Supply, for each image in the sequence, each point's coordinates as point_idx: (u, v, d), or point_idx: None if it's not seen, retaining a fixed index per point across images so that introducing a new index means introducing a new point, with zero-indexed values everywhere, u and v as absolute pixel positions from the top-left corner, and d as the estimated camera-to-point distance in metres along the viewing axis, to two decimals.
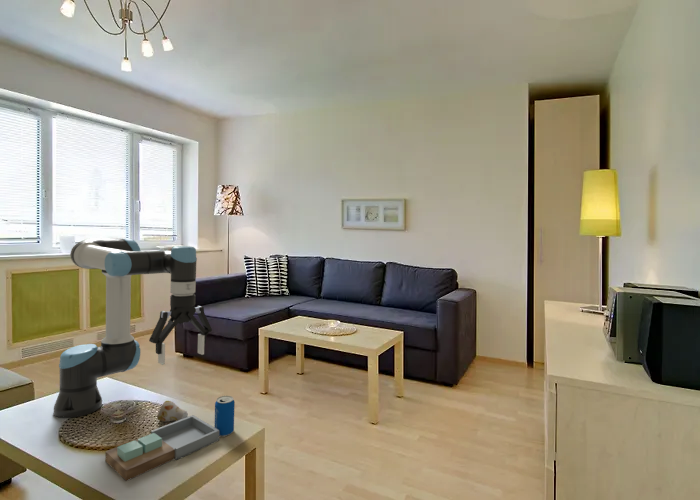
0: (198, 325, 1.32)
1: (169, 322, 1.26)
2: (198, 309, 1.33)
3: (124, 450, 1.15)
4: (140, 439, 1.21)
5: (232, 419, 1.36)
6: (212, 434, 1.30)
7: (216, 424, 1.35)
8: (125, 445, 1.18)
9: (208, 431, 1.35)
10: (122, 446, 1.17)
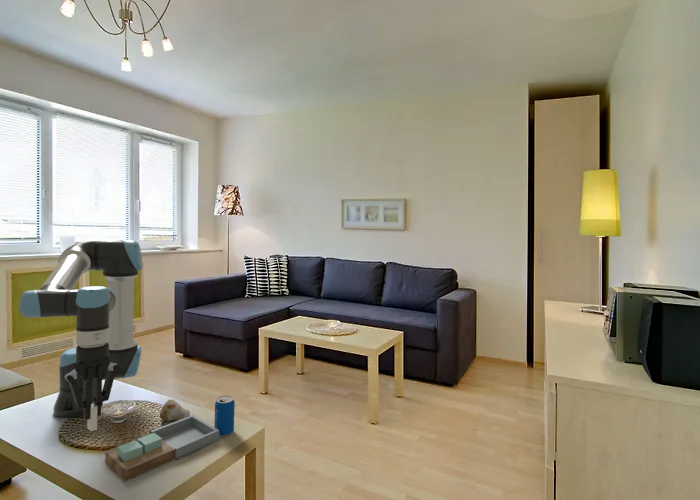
0: (99, 388, 1.08)
1: (83, 381, 1.07)
2: (112, 366, 1.11)
3: (124, 450, 1.15)
4: (140, 439, 1.21)
5: (232, 419, 1.36)
6: (212, 434, 1.30)
7: (216, 424, 1.35)
8: (125, 445, 1.18)
9: (208, 431, 1.35)
10: (122, 446, 1.17)
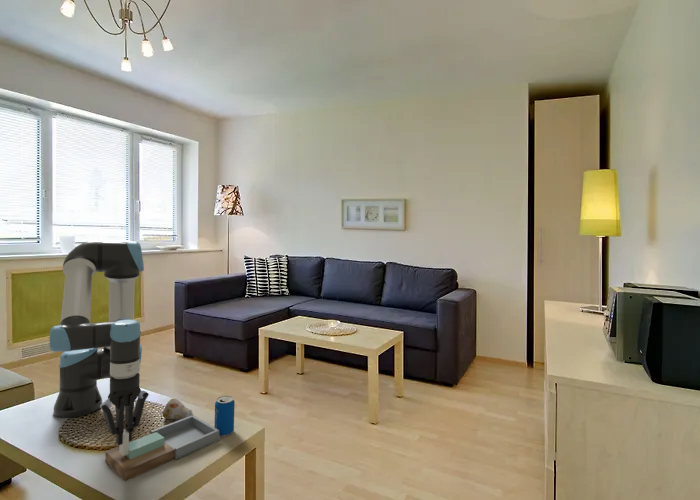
0: (130, 415, 1.16)
1: (116, 409, 1.14)
2: (142, 394, 1.19)
3: (129, 448, 1.16)
4: (143, 438, 1.22)
5: (232, 419, 1.36)
6: (212, 434, 1.30)
7: (216, 424, 1.35)
8: (130, 443, 1.19)
9: (208, 431, 1.35)
10: None
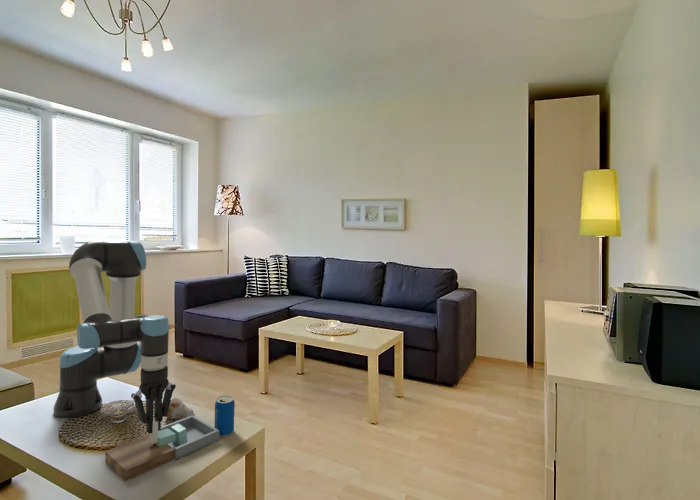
0: (159, 405, 1.22)
1: (146, 399, 1.21)
2: (170, 385, 1.25)
3: (159, 436, 1.23)
4: None
5: (232, 419, 1.36)
6: (212, 434, 1.30)
7: (216, 424, 1.35)
8: (159, 432, 1.26)
9: (208, 431, 1.35)
10: None
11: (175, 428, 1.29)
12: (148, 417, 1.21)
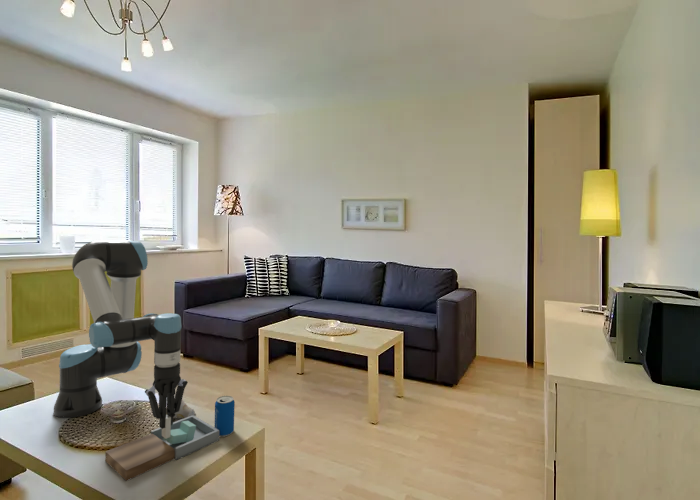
0: (172, 401, 1.26)
1: (159, 395, 1.24)
2: (182, 382, 1.29)
3: (172, 434, 1.26)
4: None
5: (232, 419, 1.36)
6: (212, 434, 1.30)
7: (216, 424, 1.35)
8: (172, 430, 1.29)
9: (208, 431, 1.35)
10: None
11: (185, 423, 1.31)
12: (161, 412, 1.24)
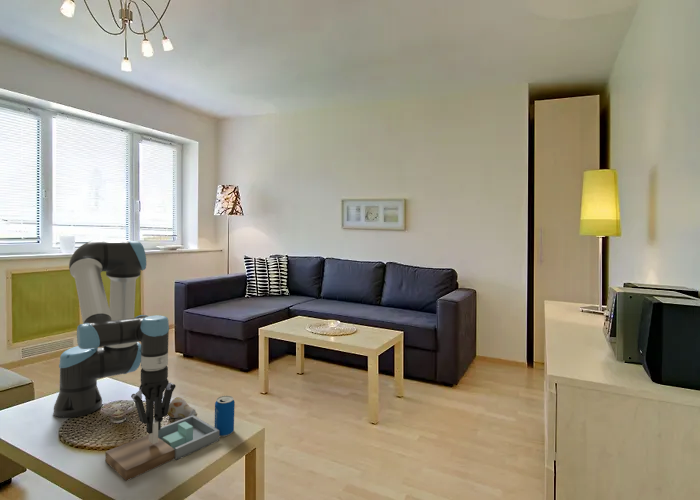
0: (159, 405, 1.23)
1: (146, 400, 1.21)
2: (169, 385, 1.26)
3: (169, 440, 1.26)
4: None
5: (232, 419, 1.36)
6: (212, 434, 1.30)
7: (216, 424, 1.35)
8: (169, 436, 1.29)
9: (208, 431, 1.35)
10: (167, 436, 1.28)
11: (182, 425, 1.31)
12: (148, 417, 1.21)
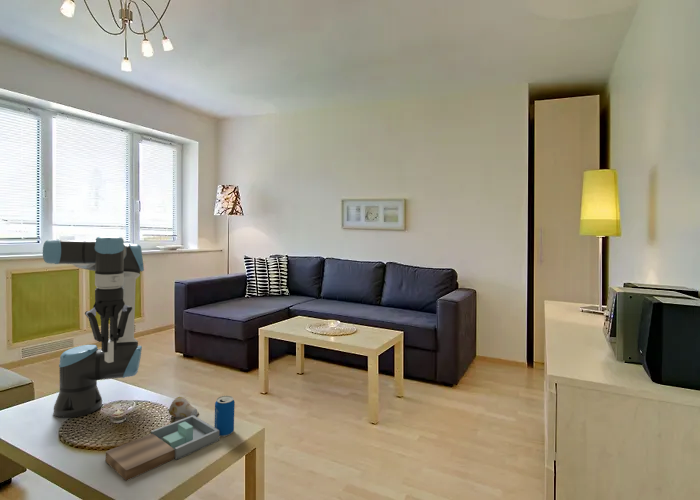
0: (115, 325, 1.23)
1: (101, 319, 1.22)
2: (126, 307, 1.26)
3: (169, 440, 1.26)
4: None
5: (232, 419, 1.36)
6: (212, 434, 1.30)
7: (216, 424, 1.35)
8: (169, 436, 1.29)
9: (208, 431, 1.35)
10: (167, 436, 1.28)
11: (182, 425, 1.31)
12: (103, 336, 1.21)
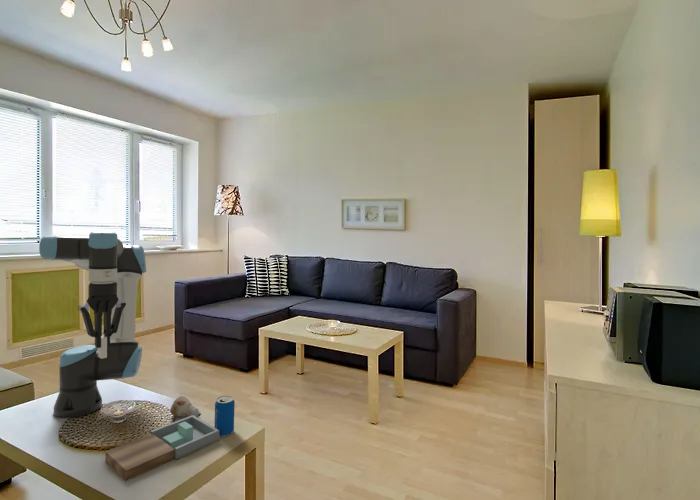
0: (108, 321, 1.23)
1: (95, 314, 1.22)
2: (120, 303, 1.26)
3: (169, 440, 1.26)
4: None
5: (232, 419, 1.36)
6: (212, 434, 1.30)
7: (216, 424, 1.35)
8: (169, 436, 1.29)
9: (208, 431, 1.35)
10: (167, 436, 1.28)
11: (182, 425, 1.31)
12: (96, 331, 1.21)
